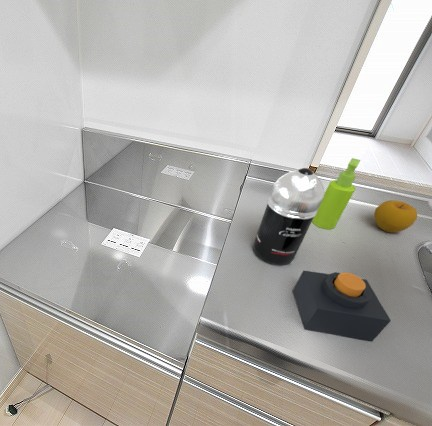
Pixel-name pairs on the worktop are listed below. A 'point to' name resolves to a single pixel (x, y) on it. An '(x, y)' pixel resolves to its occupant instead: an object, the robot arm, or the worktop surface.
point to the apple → (395, 216)
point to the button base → (338, 308)
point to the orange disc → (349, 284)
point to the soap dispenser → (336, 198)
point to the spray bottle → (288, 216)
